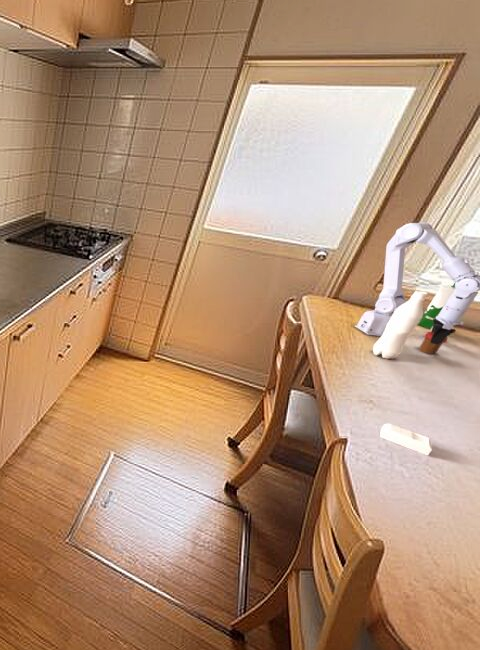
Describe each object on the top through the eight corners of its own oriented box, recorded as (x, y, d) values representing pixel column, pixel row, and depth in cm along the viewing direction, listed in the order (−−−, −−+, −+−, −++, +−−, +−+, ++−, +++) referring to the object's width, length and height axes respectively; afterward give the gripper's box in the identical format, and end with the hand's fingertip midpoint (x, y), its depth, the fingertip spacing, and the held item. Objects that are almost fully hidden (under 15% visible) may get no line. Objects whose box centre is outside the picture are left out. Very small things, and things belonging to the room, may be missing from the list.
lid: (445, 339, 157) (447, 335, 157) (445, 343, 154) (448, 340, 153) (424, 334, 161) (427, 330, 160) (424, 338, 157) (427, 334, 156)
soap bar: (381, 429, 113) (386, 421, 112) (426, 446, 107) (432, 438, 106) (380, 437, 109) (385, 429, 108) (427, 455, 104) (433, 447, 103)
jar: (426, 353, 158) (436, 338, 155) (414, 347, 162) (424, 333, 159) (439, 354, 158) (449, 340, 155) (427, 348, 162) (437, 334, 159)
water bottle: (400, 362, 150) (441, 297, 138) (378, 358, 151) (417, 294, 140) (387, 352, 156) (425, 289, 145) (365, 349, 157) (401, 287, 146)
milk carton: (449, 330, 181) (478, 286, 172) (440, 332, 177) (469, 288, 168) (423, 321, 188) (450, 279, 179) (414, 324, 184) (440, 281, 175)
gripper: (473, 316, 144) (449, 351, 150) (469, 306, 154) (447, 339, 160) (444, 310, 148) (423, 343, 155) (442, 300, 158) (422, 332, 164)
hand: (433, 341), depth 158 cm, fingers closed on lid, 5 cm apart
